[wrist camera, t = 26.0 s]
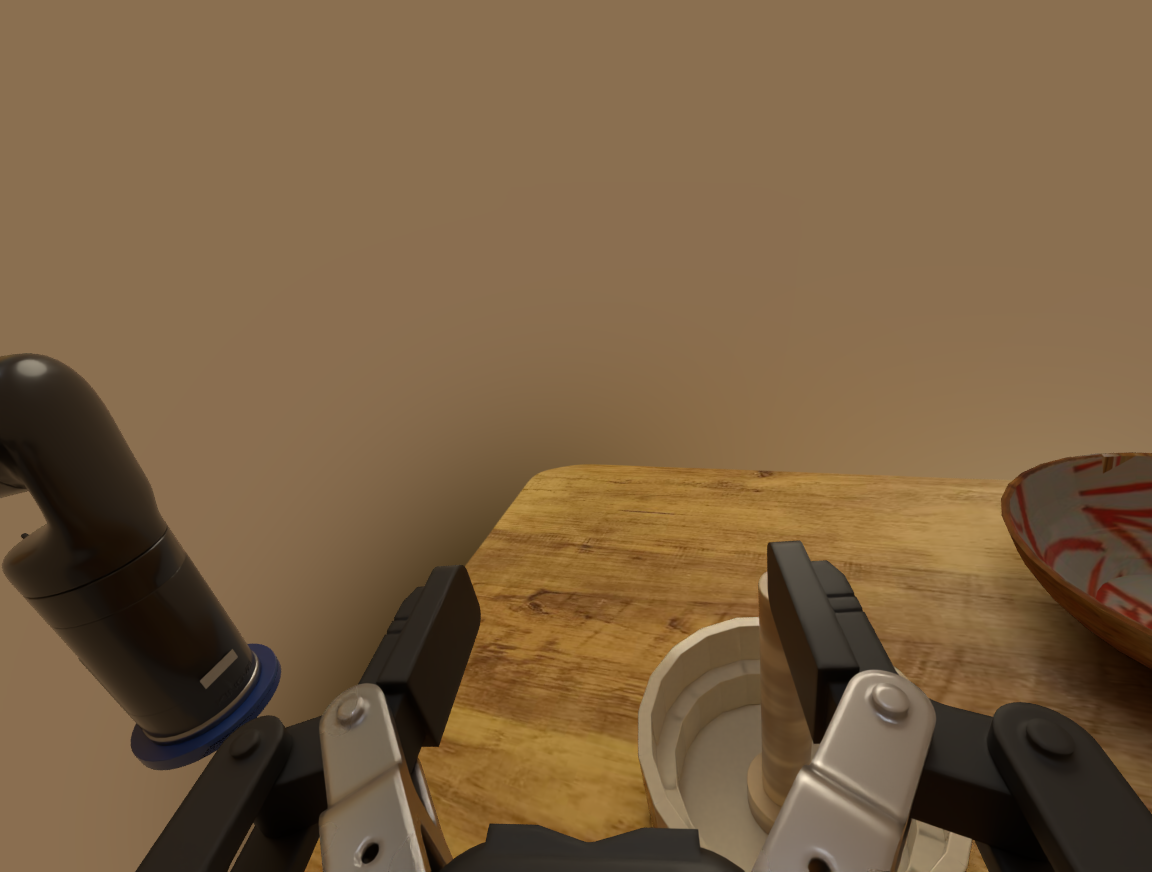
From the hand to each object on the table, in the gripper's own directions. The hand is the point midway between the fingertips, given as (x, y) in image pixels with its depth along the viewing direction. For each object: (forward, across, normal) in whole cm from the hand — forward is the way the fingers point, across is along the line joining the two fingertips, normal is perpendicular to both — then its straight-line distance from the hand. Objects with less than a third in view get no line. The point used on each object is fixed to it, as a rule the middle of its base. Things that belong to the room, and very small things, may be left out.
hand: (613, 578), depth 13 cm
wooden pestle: (+8, +7, -26) cm, 28 cm away
